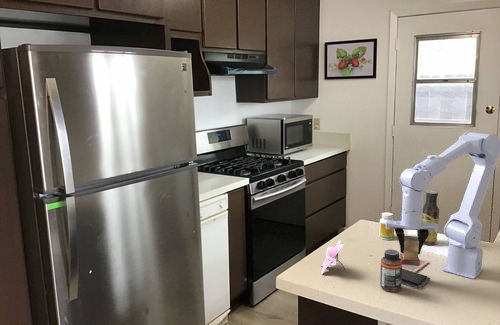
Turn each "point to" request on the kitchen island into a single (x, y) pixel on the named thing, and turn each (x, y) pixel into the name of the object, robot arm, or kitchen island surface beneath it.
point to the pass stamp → (410, 251)
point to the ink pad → (414, 279)
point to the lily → (332, 256)
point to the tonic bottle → (431, 215)
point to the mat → (415, 268)
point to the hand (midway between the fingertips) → (410, 252)
